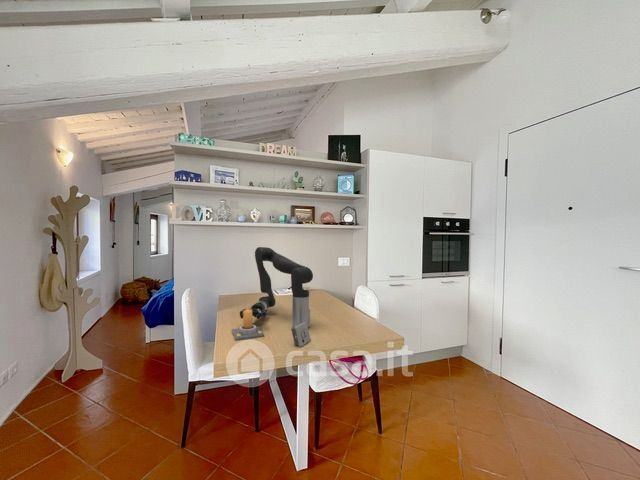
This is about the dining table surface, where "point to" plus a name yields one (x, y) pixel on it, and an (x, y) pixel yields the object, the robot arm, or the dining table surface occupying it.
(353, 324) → the dining table surface
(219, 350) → the dining table surface
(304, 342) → the electrical switch
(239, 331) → the grey square mounting plate
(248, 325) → the wire nut
